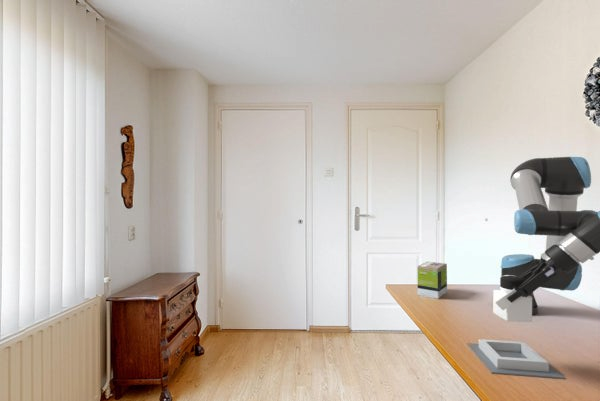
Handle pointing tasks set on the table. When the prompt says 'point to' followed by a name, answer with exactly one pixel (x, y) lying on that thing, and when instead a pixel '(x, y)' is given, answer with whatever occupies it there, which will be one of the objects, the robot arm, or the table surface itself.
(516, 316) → the medicine bottle
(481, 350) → the collar plate
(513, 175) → the robot arm
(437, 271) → the tea box
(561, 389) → the table surface
